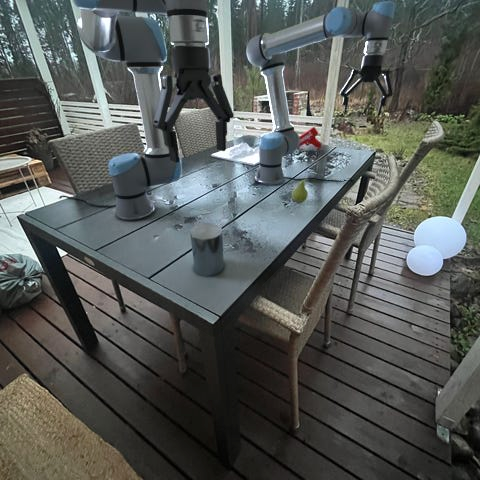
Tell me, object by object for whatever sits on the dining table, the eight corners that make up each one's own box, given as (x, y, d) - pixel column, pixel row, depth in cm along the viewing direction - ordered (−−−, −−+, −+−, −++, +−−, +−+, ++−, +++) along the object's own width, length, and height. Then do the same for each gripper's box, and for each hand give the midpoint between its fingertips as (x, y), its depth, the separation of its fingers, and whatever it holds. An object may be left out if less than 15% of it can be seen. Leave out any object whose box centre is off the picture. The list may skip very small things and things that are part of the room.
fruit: (288, 200, 123) (290, 174, 116) (302, 197, 125) (305, 172, 119) (296, 206, 118) (299, 179, 111) (310, 203, 120) (314, 177, 114)
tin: (192, 261, 85) (187, 225, 78) (219, 255, 88) (217, 220, 81) (197, 278, 78) (193, 241, 71) (227, 272, 81) (225, 235, 74)
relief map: (253, 165, 166) (254, 157, 163) (211, 156, 184) (210, 148, 181) (276, 155, 184) (277, 147, 181) (235, 147, 202) (235, 140, 199)
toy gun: (325, 144, 195) (314, 126, 192) (324, 145, 192) (313, 127, 188) (303, 157, 205) (292, 140, 202) (302, 159, 202) (291, 142, 198)
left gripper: (138, 42, 44) (160, 170, 55) (248, 47, 58) (247, 148, 70) (119, 44, 48) (143, 162, 60) (225, 48, 63) (228, 143, 74)
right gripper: (341, 54, 104) (331, 114, 116) (412, 53, 99) (394, 116, 111) (339, 55, 111) (330, 112, 122) (406, 54, 106) (390, 113, 117)
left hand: (199, 155), depth 65 cm, fingers open, 13 cm apart
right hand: (361, 114), depth 116 cm, fingers open, 13 cm apart
